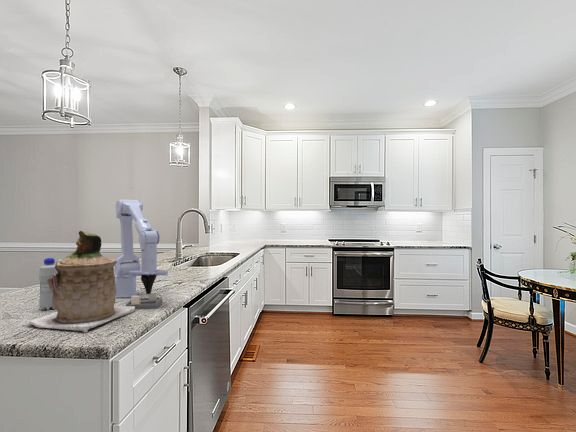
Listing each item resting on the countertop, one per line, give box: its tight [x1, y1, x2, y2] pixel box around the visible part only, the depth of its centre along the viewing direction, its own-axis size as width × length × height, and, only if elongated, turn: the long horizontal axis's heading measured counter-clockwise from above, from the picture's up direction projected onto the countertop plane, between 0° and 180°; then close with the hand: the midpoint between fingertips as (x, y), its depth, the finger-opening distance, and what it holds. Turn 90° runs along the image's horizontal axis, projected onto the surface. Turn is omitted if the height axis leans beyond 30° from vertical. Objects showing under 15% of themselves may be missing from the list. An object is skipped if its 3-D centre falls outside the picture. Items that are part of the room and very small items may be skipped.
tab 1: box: [130, 294, 142, 304], centre depth 126 cm, size 3×2×4 cm
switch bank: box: [125, 295, 163, 310], centre depth 129 cm, size 12×10×2 cm
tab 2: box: [147, 291, 158, 300], centre depth 133 cm, size 3×2×4 cm
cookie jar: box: [25, 229, 136, 333], centre depth 113 cm, size 25×25×32 cm
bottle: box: [38, 257, 58, 311], centre depth 124 cm, size 7×7×20 cm
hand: (148, 293), depth 128 cm, fingers closed
